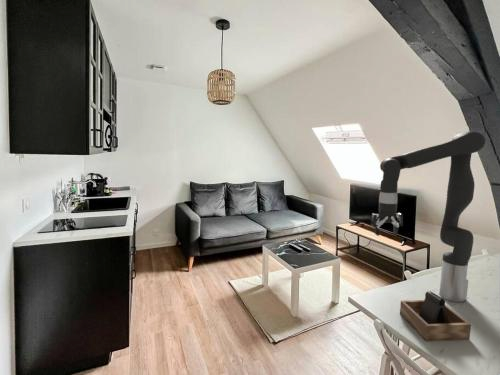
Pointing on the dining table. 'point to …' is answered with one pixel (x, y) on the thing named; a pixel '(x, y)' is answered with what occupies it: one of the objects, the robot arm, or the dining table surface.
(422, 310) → the door stopper
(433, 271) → the dining table surface
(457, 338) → the walnut box
